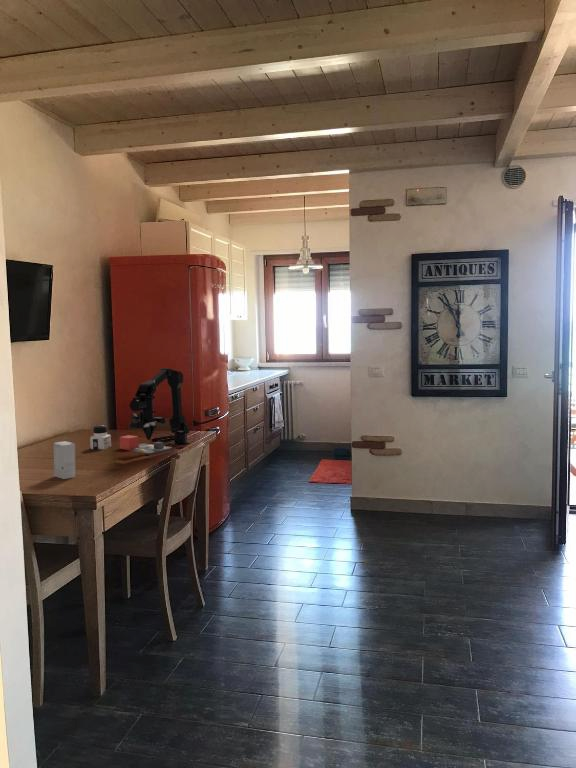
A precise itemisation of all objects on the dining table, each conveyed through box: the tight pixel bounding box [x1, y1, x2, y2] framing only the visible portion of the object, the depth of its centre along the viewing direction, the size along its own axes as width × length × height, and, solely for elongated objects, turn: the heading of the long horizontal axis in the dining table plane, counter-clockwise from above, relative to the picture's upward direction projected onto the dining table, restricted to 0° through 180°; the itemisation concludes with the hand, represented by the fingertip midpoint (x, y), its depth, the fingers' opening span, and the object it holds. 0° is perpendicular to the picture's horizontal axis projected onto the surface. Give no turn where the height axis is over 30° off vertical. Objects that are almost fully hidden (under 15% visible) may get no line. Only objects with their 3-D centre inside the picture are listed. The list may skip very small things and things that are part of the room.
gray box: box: [153, 441, 165, 449], centre depth 316 cm, size 3×4×3 cm
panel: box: [123, 443, 174, 457], centre depth 319 cm, size 16×22×2 cm
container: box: [89, 424, 112, 450], centre depth 322 cm, size 8×8×13 cm
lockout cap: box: [119, 434, 140, 451], centre depth 319 cm, size 6×7×6 cm
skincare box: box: [53, 440, 76, 480], centre depth 266 cm, size 8×6×15 cm
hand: (148, 439), depth 310 cm, fingers closed
